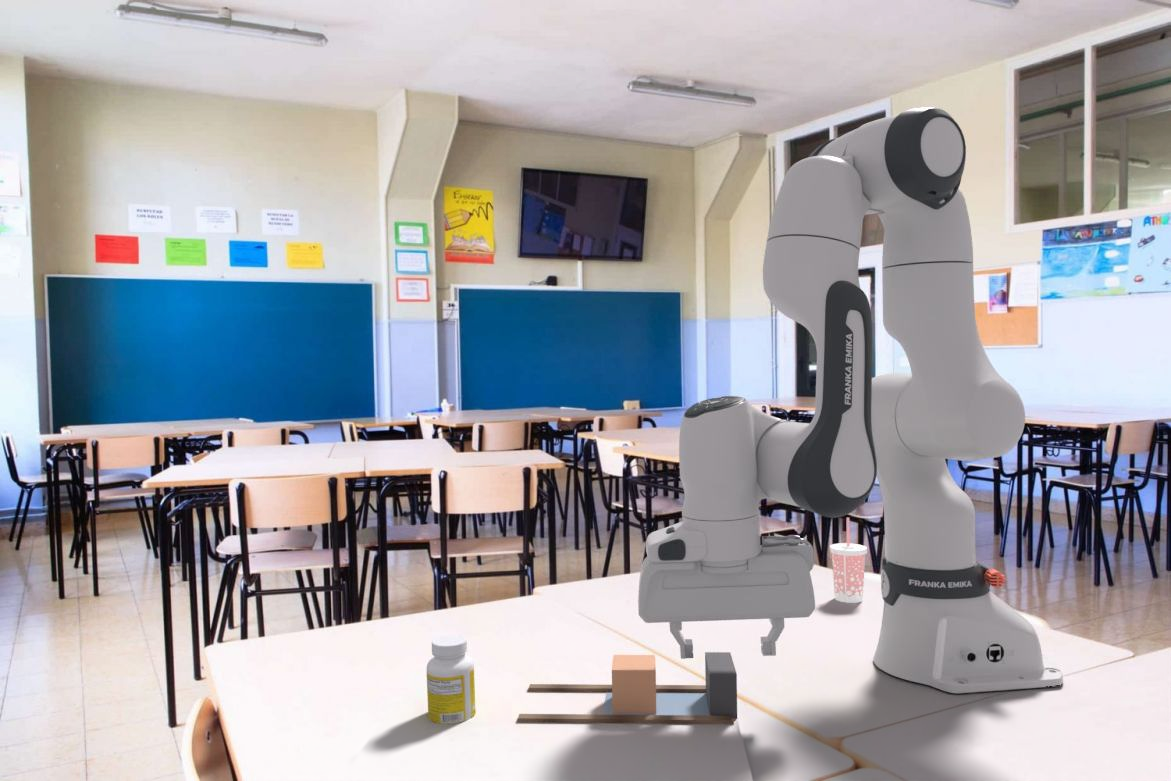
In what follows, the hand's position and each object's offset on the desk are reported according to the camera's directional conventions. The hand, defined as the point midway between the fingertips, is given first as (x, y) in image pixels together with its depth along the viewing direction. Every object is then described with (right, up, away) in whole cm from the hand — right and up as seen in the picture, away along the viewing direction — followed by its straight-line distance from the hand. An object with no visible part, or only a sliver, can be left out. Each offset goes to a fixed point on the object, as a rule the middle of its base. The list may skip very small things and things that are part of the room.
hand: (727, 655), depth 98 cm
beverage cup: (+29, -5, +46) cm, 54 cm away
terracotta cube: (-11, -6, +1) cm, 12 cm away
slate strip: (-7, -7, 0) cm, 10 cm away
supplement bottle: (-32, -8, -1) cm, 33 cm away
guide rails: (-12, -7, +1) cm, 14 cm away
